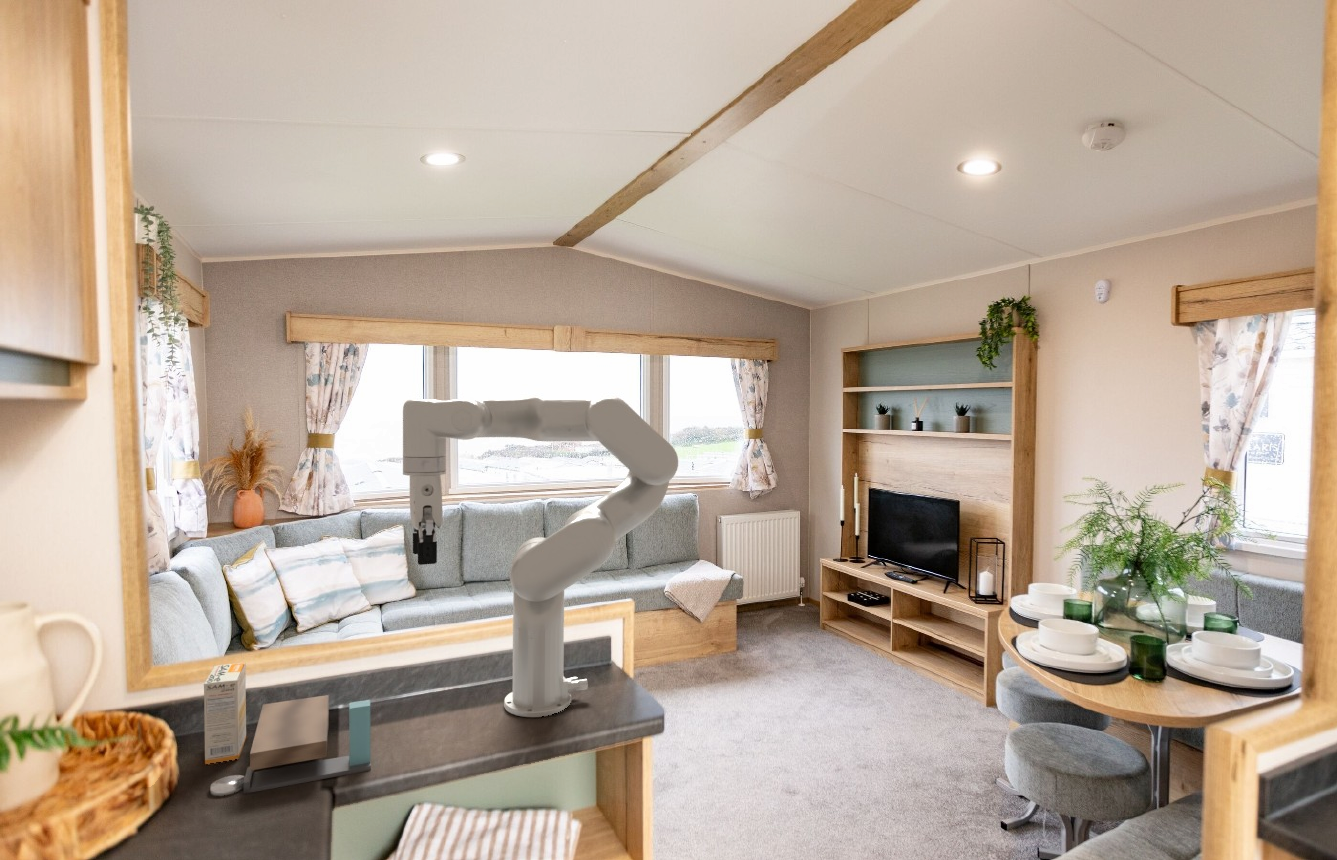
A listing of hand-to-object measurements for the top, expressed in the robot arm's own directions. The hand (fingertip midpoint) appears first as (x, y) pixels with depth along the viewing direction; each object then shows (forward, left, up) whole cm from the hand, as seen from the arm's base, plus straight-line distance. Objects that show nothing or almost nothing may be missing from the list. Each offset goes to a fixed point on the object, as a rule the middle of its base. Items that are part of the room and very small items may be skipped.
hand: (424, 558), depth 130 cm
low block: (+21, +10, -28) cm, 37 cm away
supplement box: (+31, +4, -28) cm, 42 cm away
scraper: (+19, +17, -28) cm, 38 cm away
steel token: (+29, +17, -29) cm, 44 cm away
